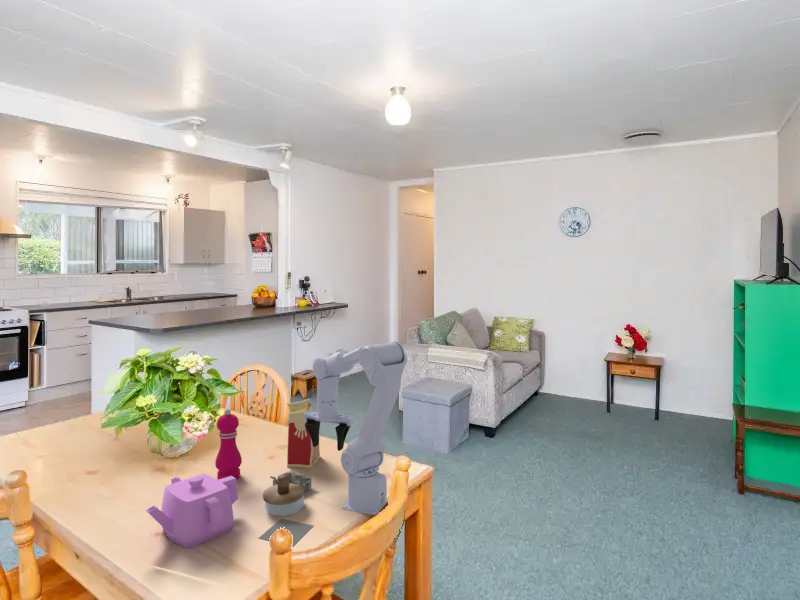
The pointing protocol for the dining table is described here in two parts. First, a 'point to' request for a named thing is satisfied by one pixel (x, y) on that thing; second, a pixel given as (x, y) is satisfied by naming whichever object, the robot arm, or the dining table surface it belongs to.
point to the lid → (283, 492)
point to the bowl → (285, 508)
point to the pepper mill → (228, 447)
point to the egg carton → (297, 480)
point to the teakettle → (196, 509)
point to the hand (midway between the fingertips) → (328, 447)
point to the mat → (294, 527)
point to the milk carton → (300, 437)
